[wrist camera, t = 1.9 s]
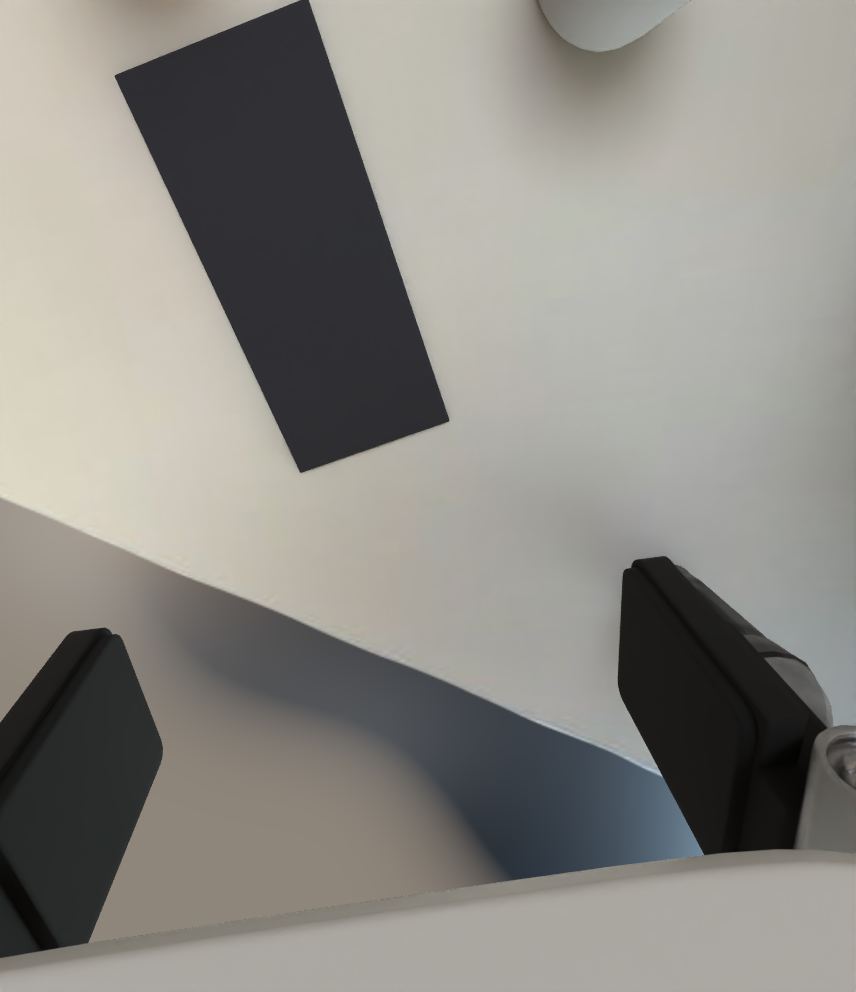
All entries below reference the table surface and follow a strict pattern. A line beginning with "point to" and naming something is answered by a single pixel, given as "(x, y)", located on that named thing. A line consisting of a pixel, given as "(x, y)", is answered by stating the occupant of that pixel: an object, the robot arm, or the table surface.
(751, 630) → the beverage cup
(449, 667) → the table surface
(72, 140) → the table surface
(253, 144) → the desk mat
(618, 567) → the table surface
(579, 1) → the cup
